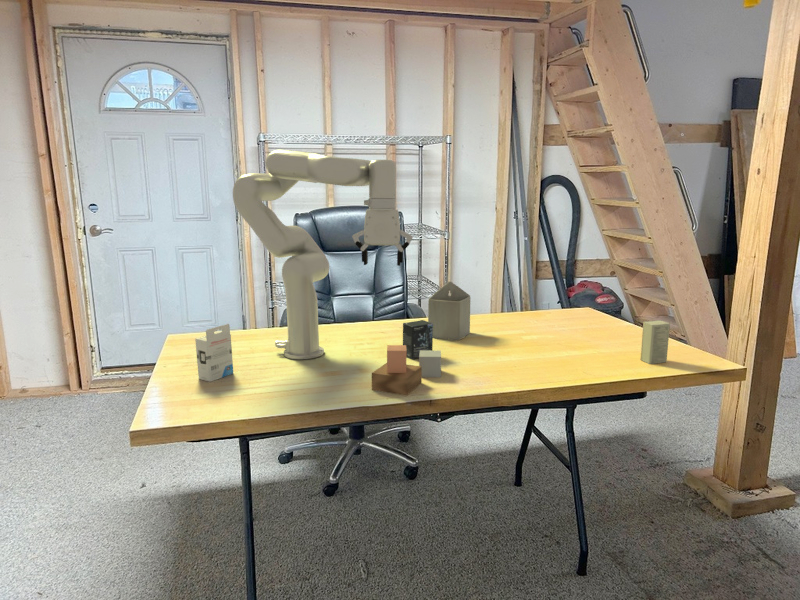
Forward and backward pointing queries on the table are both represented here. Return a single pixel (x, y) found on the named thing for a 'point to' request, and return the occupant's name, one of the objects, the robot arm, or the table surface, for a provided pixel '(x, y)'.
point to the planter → (449, 312)
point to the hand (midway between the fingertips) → (382, 264)
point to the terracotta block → (396, 358)
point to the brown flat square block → (397, 380)
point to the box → (417, 337)
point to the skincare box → (655, 341)
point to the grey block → (430, 363)
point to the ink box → (214, 354)
